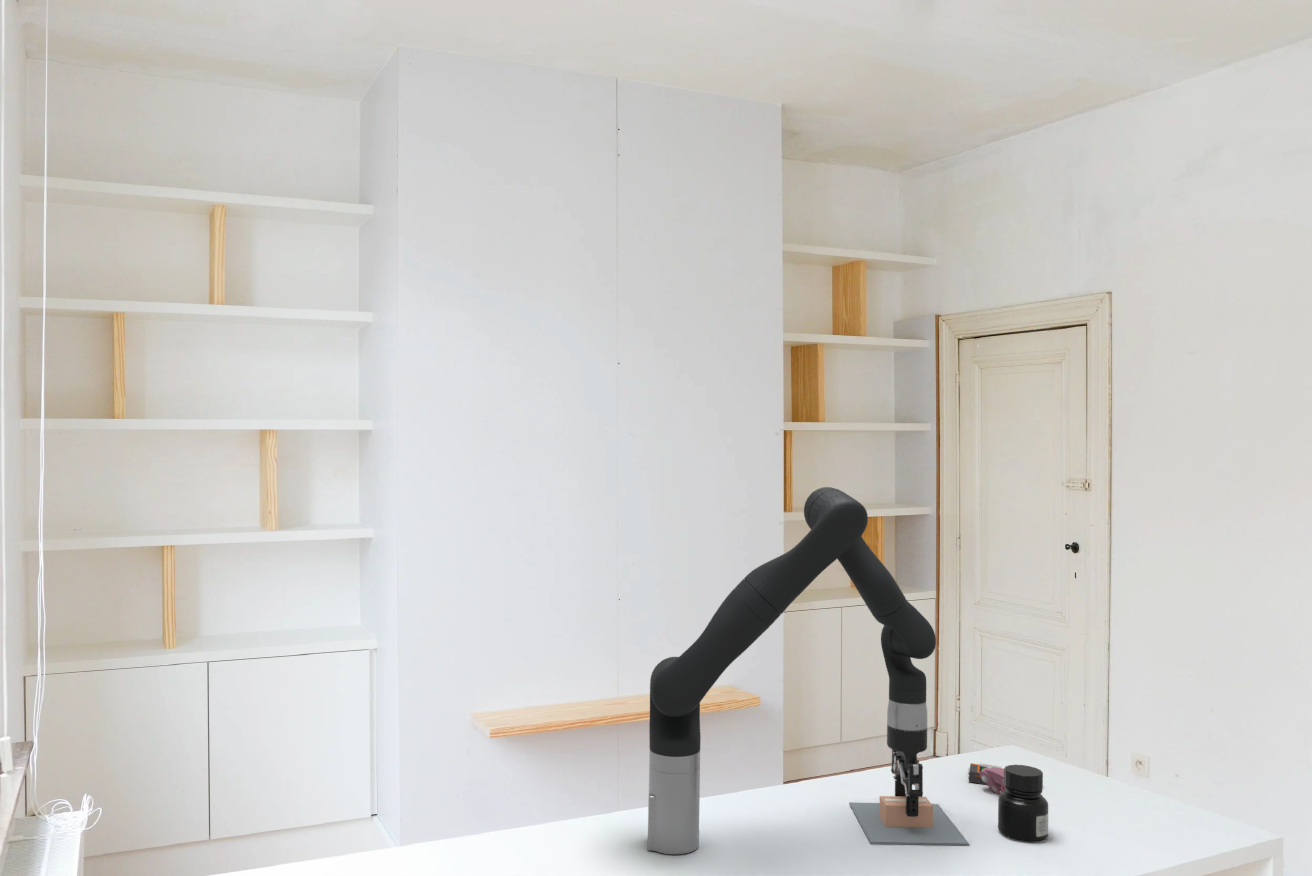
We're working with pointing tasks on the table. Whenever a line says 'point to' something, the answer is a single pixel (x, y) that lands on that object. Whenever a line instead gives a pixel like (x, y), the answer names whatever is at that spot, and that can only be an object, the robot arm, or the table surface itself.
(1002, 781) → the video game controller
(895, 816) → the box
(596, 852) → the table surface
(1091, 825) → the table surface
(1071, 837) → the table surface
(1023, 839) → the ink bottle
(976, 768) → the electronic device
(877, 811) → the mat
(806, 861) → the table surface
